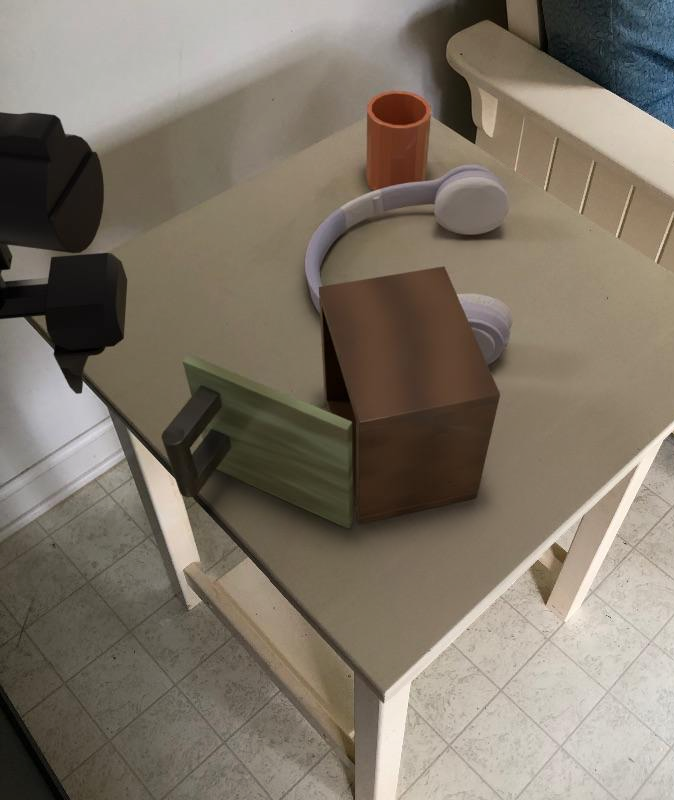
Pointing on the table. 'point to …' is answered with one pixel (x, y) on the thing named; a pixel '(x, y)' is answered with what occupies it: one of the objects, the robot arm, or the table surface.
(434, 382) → the cupboard
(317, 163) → the table surface
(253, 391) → the door
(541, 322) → the table surface
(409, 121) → the cup
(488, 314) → the headphones
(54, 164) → the robot arm
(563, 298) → the table surface
